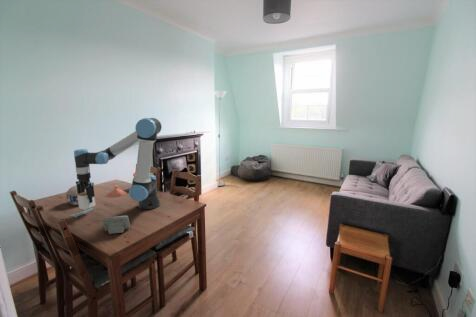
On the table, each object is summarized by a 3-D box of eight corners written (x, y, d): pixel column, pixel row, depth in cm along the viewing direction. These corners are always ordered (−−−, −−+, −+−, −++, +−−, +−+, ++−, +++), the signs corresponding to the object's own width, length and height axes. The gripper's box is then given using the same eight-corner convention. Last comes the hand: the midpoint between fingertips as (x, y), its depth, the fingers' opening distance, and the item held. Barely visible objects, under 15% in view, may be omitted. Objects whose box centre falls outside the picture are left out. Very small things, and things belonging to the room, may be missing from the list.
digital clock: (131, 227, 141) (130, 213, 139) (126, 233, 133) (125, 218, 131) (108, 227, 140) (106, 213, 138) (101, 234, 132) (99, 219, 131)
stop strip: (93, 210, 165) (93, 208, 165) (75, 217, 153) (75, 215, 153) (91, 209, 165) (91, 208, 165) (73, 217, 153) (73, 215, 153)
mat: (91, 210, 165) (90, 209, 165) (74, 217, 154) (74, 216, 154) (80, 208, 168) (80, 207, 168) (63, 214, 157) (63, 214, 157)
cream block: (95, 205, 159) (94, 191, 158) (84, 209, 152) (82, 195, 150) (90, 204, 161) (88, 190, 159) (79, 208, 154) (77, 194, 152)
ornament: (71, 202, 180) (69, 183, 177) (93, 199, 185) (91, 181, 182) (64, 209, 166) (61, 189, 163) (88, 207, 171) (85, 187, 168)
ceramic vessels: (107, 202, 179) (104, 179, 176) (98, 196, 193) (96, 174, 190) (151, 192, 204) (149, 171, 200) (140, 186, 218) (138, 167, 215)
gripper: (98, 172, 153) (102, 206, 157) (79, 170, 159) (83, 202, 163) (88, 175, 146) (92, 210, 150) (67, 172, 152) (72, 206, 156)
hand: (87, 206), depth 157 cm, fingers closed on cream block, 5 cm apart
